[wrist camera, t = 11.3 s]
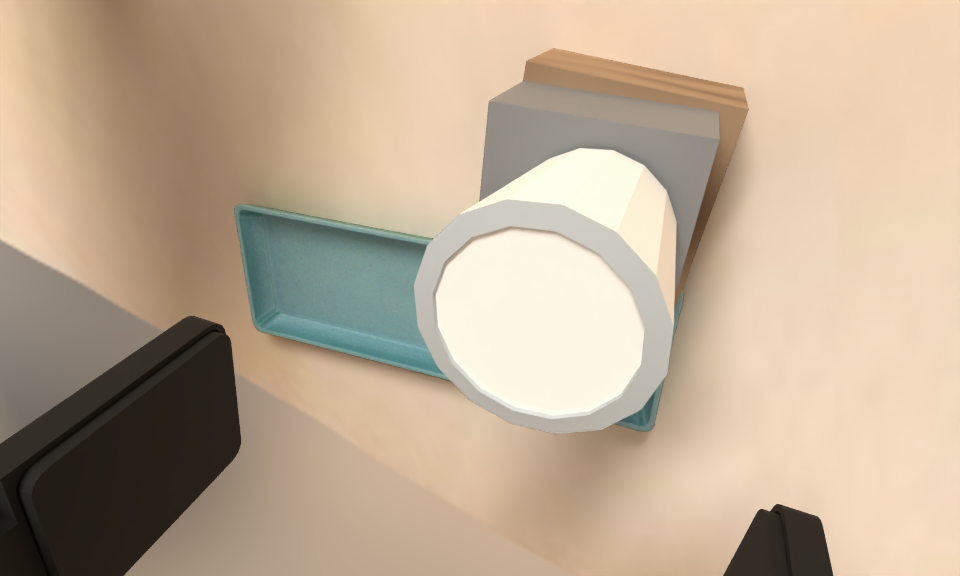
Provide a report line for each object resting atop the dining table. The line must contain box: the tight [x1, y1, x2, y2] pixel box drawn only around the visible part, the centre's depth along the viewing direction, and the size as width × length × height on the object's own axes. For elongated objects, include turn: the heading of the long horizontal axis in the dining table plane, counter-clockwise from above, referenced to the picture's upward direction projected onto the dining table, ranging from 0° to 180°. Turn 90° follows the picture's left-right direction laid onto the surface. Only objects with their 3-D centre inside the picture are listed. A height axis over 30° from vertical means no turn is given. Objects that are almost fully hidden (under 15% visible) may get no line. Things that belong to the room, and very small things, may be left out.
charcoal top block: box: [479, 81, 720, 294], centre depth 23 cm, size 8×8×4 cm
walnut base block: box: [523, 48, 749, 305], centre depth 27 cm, size 8×8×5 cm
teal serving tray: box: [234, 204, 683, 432], centre depth 35 cm, size 26×9×2 cm, turn 86°
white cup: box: [414, 148, 677, 434], centre depth 18 cm, size 7×7×7 cm
